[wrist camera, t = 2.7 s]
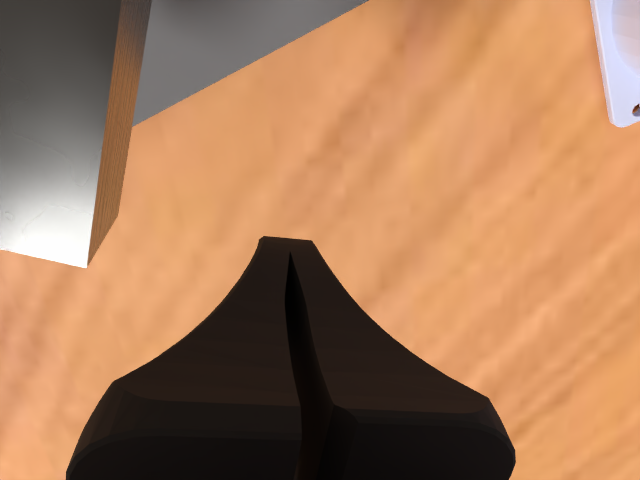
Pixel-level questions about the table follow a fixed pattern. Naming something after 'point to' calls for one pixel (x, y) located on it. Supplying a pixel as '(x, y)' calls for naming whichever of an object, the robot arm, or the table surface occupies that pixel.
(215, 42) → the charcoal trivet mat
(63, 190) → the cooker lid
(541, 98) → the table surface
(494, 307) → the table surface
